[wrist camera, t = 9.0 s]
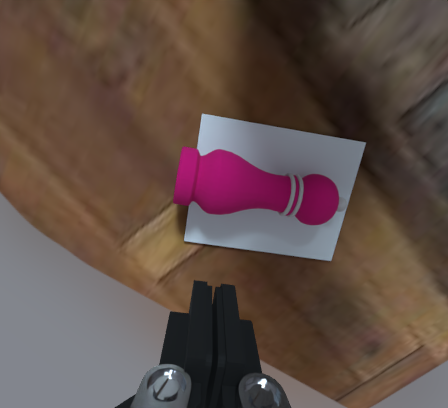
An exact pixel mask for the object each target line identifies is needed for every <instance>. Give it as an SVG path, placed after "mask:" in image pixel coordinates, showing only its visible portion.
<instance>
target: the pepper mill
mask: <svg viewBox="0 0 448 408" xmlns="http://www.w3.org/2000/svg"><path fill="white" fill-rule="evenodd" d="M192 201H194V202H196V203H197V204H198V205H199V206H200V207H201V209H202V210H203V211H204V212H206V213H208V214H215V215H224V214H231V213H234V212H238V211H242V210H247V209H258V208H259V209H269V210H273V211H277V212H278V214H279V215H280V216H287V217H293V216H295V217H296V218H297V219H298V220H299V221H300V222H301V223H303V224H306V225H321V224H323V223H326V222H327V221H329V220H330V219H331V218H332V217H333V216H334V214H335V213H336V211H337V212H342V211H344V210H345V209H346V208H347V201H346V200H345V199H344V198H342V197H339V192H338V189H337V186H336V185H335V183H334V182H333V181H332V180H331V179H329V178H328V177H326V176H324V175H320V174H309V175H307V176H305V177H303V178H301V176H300V175H298V174H296V175H293V174H292V173H287V174H286V175H285V176H283V175H275V174H272V173H268V172H265V171H263V170H261V169H259V168H257V167H255V166H254V165H252V164H251V163H249V162H248V161H246V160H245V159H243V158H242V157H240V156H238V155H236V154H234V153H232V152H229V151H226V150H222V149H216V150H214V151H212V152H210V153H208V154H206V155H203V156H201V155H200V153H199V150H198V149H194V148H189V147H183V148H182V151H181V156H180V162H179V167H178V173H177V179H176V185H175V191H174V199H173V203H174V204H180V205H186V206H188V205H190V203H191V202H192Z"/></svg>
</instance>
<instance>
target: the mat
mask: <svg viewBox="0 0 448 408" xmlns="http://www.w3.org/2000/svg"><path fill="white" fill-rule="evenodd" d="M365 145H366V143H365V142H360V141H354V140H348V139H343V138H337V137H331V136H326V135H320V134H314V133H309V132H303V131H297V130H292V129H286V128H280V127H275V126H269V125H263V124H258V123H252V122H246V121H241V120H235V119H229V118H224V117H218V116H212V115H207V114H202V118H201V125H200V132H199V139H198V146H197V149H198V150H199V153H200V155H201V156H203V155H206V154H208V153H210V152H212V151H214V150H216V149H222V150H226V151H229V152H232V153H234V154H236V155H238V156H240V157H242V158H243V159H245V160H246V161H248V162H249V163H251V164H252V165H254V166H255V167H257V168H259V169H261V170H263V171H265V172H268V173H272V174H275V175H283V176H285V175H286V174H287V173H292V174H293V175H296V174H298V175H300V176H301V178H303V177H305V176H307V175H309V174H320V175H324V176H326V177H328V178H329V179H331V180H332V181H333V182H334V183H335V185H336V186H337V189H338V192H339V197H342V198H344V199H345V200H346V201H347V206H348V202H349V199H350V195H351V192H352V189H353V185H354V182H355V179H356V175H357V172H358V168H359V165H360V162H361V158H362V155H363V151H364V148H365ZM346 209H347V208H346ZM346 209H345V210H344V211H342V212H337V211H336V213H335V214H334V216H333V217H332V218H331V219H330V220H329V221H327V222H326V223H323V224H321V225H306V224H303V223H301V222H300V221H299V220H298V219H297V218H296V217H295V216H293V217H287V216H280V215H279V214H278V212H277V211H273V210H269V209H259V208H258V209H247V210H242V211H238V212H234V213H231V214H224V215H215V214H208V213H206V212H204V211H203V210H202V209H201V207H200V206H199V205H198V204H197V203H196V202H194V201H192V202H191V203H190V205H189V209H188V216H187V223H186V230H185V237H184V241H188V242H195V243H202V244H209V245H217V246H224V247H231V248H239V249H246V250H253V251H261V252H268V253H275V254H283V255H290V256H297V257H305V258H312V259H319V260H327V261H331V260H332V256H333V253H334V250H335V246H336V243H337V239H338V236H339V233H340V229H341V226H342V222H343V219H344V216H345V212H346Z"/></svg>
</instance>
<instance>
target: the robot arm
mask: <svg viewBox="0 0 448 408" xmlns="http://www.w3.org/2000/svg"><path fill="white" fill-rule="evenodd" d="M115 408H291V406H290V404H289V401H288V399H287V396H286V394H285V392H284V390H283V388H282V387H281V385H280V384H279V383H278V382H277V381H276V380H275V379H273V378H272V377H270V376H268V375H265V374H263V373H262V371H261V365H260V360H259V355H258V350H257V345H256V340H255V334H254V329H253V324H252V322H251V321H249V320H240V319H239V311H238V304H237V297H236V290H235V286H234V285H227V284H221V287H216V288H215V293H214V299H213V304H212V286H207V282H203V281H195V280H194V284H193V290H192V296H191V302H190V309H189V314H188V313H180V312H170V315H169V320H168V324H167V329H166V334H165V339H164V344H163V349H162V354H161V359H160V364H159V365H158V366H156V367H153V368H152V369H150V370H149V371H148V372H147V373H146V375H145V376H144V378H143V379H142V382H141V384H140V386H139V388H138V391H137V393H136V394H135V395H134V396H132V397H130V398H129V399H127V400H126V401H124V402H123V403H121V404H120V405H118V406H117V407H115Z"/></svg>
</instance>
